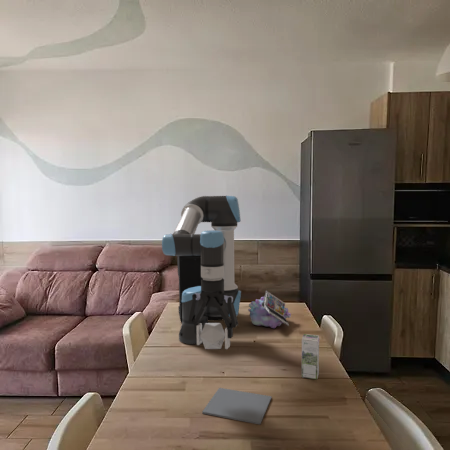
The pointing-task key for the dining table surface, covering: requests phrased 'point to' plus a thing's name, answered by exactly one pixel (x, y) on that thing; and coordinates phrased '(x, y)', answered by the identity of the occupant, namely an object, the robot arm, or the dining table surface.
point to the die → (212, 335)
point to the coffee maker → (189, 277)
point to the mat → (238, 405)
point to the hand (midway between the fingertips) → (213, 345)
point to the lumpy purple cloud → (268, 311)
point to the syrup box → (310, 356)
